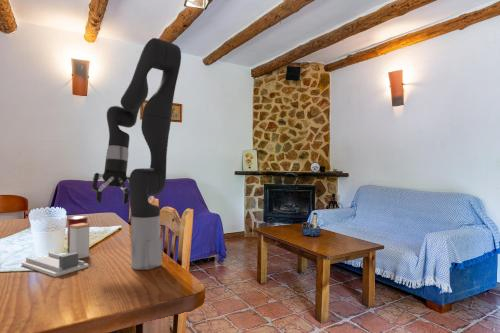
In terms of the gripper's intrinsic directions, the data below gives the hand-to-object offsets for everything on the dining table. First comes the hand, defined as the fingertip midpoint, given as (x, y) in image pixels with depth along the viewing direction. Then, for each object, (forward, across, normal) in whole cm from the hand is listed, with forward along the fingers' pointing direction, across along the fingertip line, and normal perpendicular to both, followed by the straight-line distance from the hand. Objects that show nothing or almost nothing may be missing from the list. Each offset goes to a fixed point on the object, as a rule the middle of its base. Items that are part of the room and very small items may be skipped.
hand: (111, 203), depth 117 cm
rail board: (+22, -15, +4) cm, 27 cm away
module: (+20, -7, +12) cm, 24 cm away
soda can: (+18, -5, +28) cm, 33 cm away
